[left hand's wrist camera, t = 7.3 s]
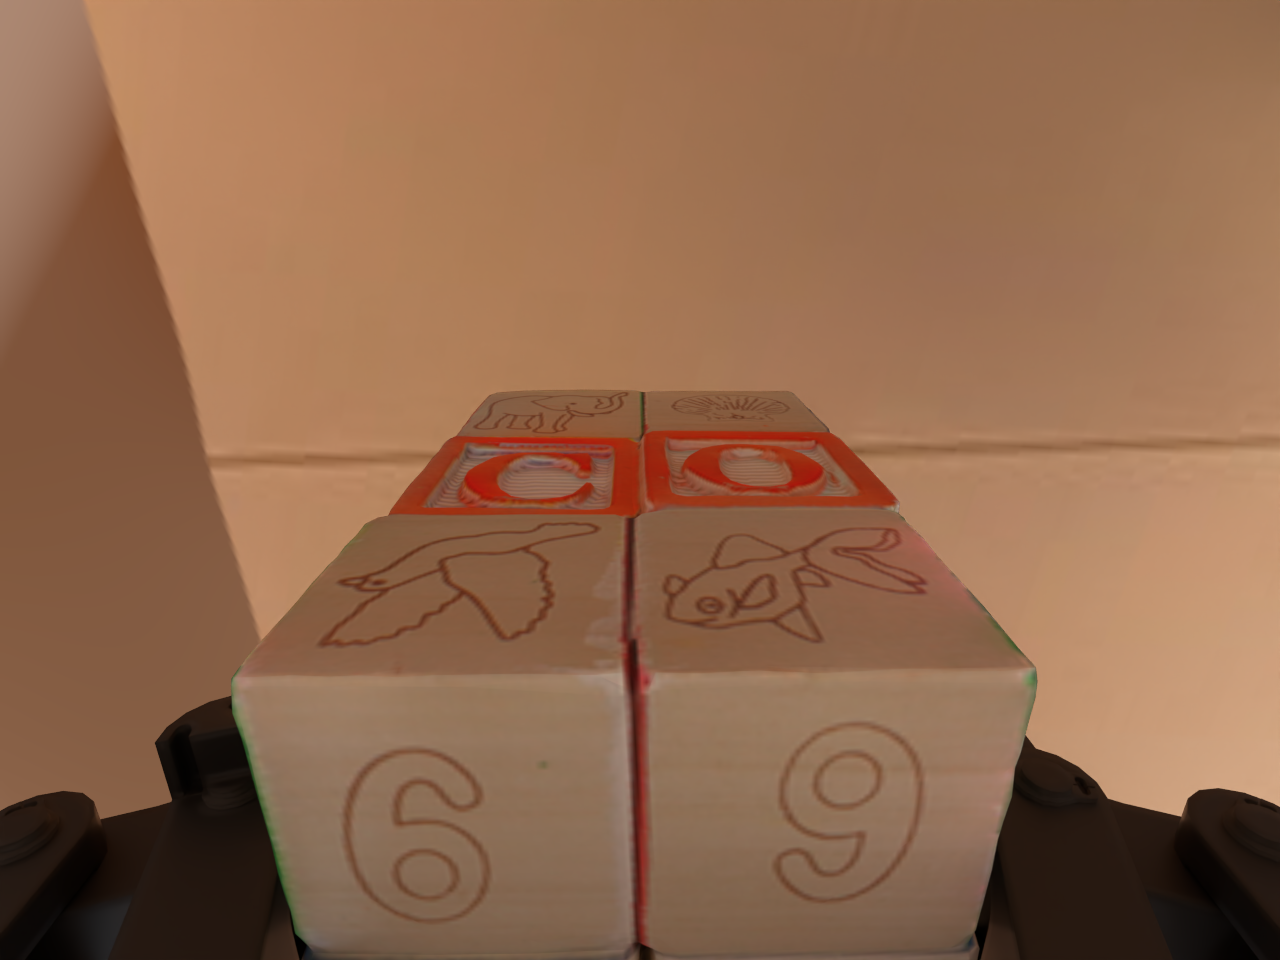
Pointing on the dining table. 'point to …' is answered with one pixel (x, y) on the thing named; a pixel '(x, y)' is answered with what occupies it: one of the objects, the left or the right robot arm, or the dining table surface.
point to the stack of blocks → (636, 702)
